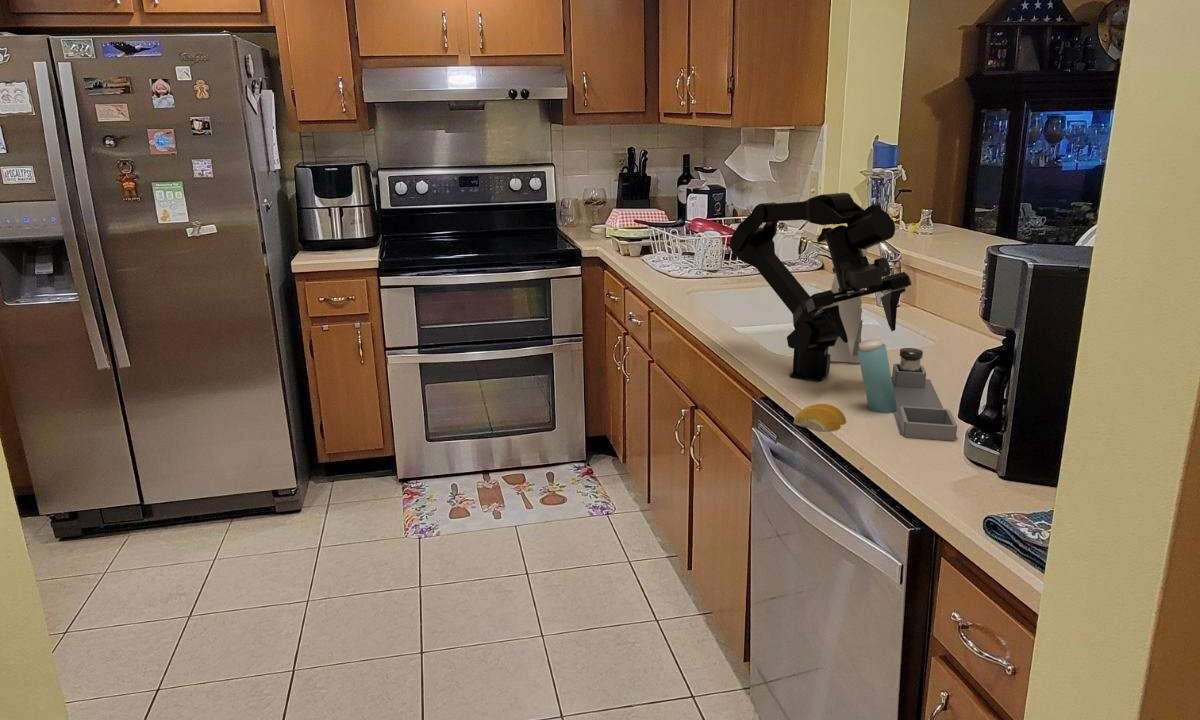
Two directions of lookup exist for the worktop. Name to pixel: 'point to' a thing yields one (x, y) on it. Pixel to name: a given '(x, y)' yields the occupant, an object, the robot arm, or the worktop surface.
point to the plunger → (910, 359)
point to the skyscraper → (848, 328)
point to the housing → (920, 407)
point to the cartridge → (877, 376)
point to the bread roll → (820, 418)
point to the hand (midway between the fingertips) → (869, 336)
